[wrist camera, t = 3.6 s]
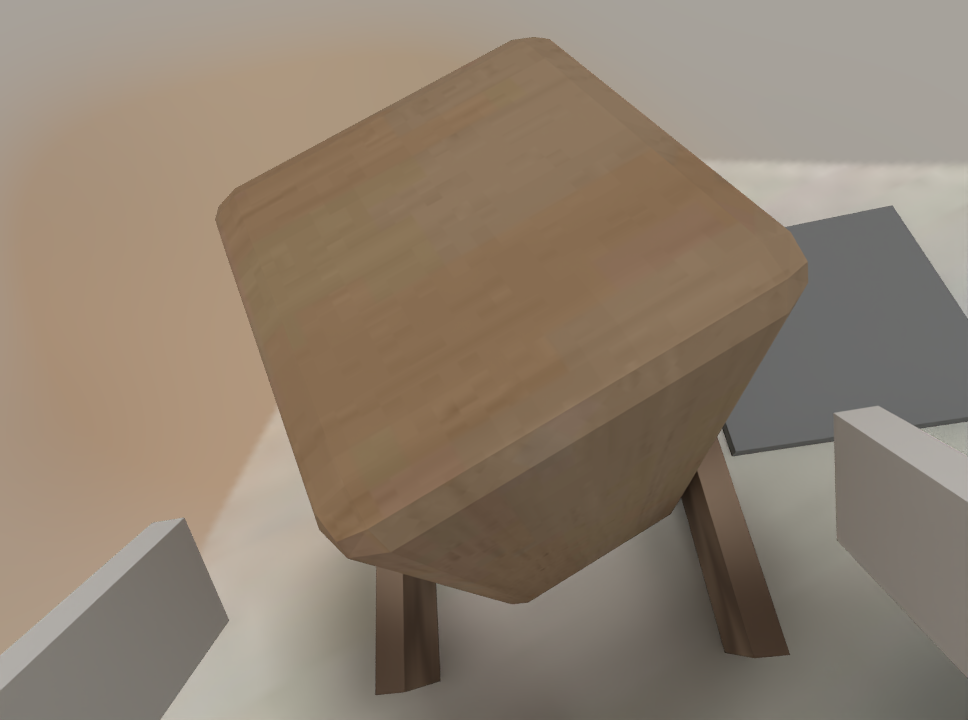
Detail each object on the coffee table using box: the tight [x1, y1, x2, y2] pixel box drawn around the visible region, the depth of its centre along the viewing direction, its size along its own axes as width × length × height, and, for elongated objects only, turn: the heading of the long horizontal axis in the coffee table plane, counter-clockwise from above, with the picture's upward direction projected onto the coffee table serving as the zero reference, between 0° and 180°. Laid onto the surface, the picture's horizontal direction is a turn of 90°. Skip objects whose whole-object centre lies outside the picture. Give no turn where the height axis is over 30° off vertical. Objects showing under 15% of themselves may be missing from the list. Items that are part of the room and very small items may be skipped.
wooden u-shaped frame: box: [375, 438, 790, 695], centre depth 25 cm, size 17×15×5 cm
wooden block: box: [215, 37, 808, 604], centre depth 19 cm, size 10×10×20 cm
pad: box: [723, 206, 968, 456], centre depth 28 cm, size 13×13×1 cm
